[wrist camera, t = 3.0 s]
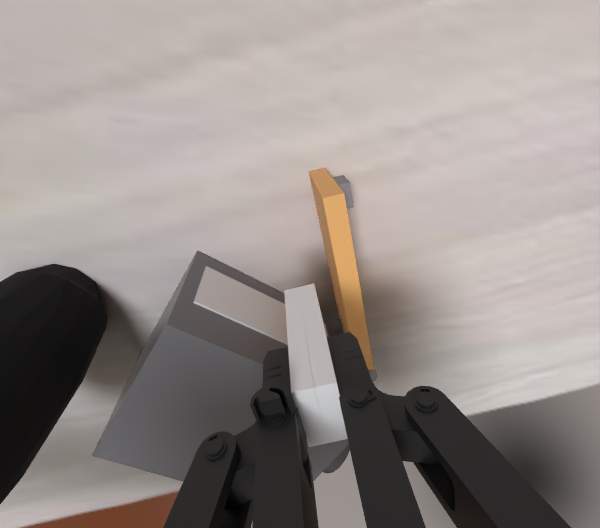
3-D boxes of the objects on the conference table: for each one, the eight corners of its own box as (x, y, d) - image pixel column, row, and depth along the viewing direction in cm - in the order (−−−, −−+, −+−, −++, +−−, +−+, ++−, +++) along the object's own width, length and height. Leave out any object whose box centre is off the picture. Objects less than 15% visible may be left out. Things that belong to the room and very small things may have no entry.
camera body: (140, 354, 33) (86, 466, 23) (198, 249, 29) (163, 331, 19) (303, 417, 38) (316, 529, 28) (371, 335, 34) (414, 434, 24)
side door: (307, 172, 26) (320, 198, 19) (335, 164, 26) (358, 189, 19) (340, 327, 32) (358, 386, 26) (363, 322, 32) (387, 379, 26)
